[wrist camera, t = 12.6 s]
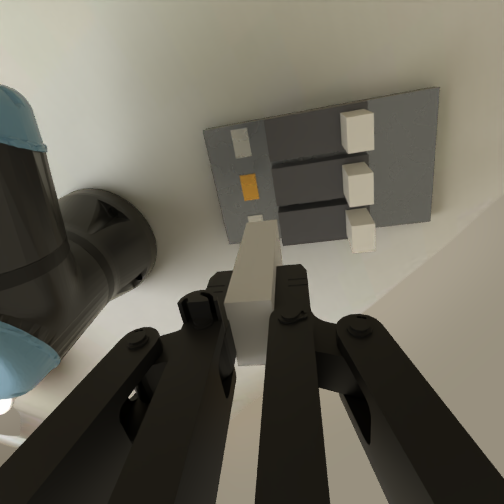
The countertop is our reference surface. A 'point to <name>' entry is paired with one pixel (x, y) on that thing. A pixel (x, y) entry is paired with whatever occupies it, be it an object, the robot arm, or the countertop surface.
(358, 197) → the handle
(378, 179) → the panel
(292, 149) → the breaker housings
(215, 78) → the countertop surface
